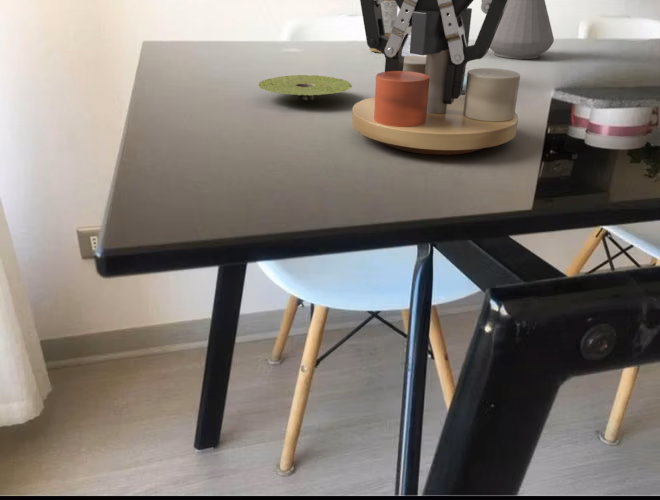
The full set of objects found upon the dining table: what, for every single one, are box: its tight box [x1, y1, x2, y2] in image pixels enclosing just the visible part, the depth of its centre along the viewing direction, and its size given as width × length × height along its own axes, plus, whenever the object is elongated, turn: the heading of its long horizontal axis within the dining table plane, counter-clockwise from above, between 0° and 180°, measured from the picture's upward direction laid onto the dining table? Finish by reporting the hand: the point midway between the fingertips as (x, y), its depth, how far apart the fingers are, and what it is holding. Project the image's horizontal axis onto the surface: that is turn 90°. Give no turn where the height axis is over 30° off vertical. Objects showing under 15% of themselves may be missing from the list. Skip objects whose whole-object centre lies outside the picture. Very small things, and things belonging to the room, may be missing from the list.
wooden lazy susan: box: [351, 7, 521, 150], centre depth 60 cm, size 16×16×11 cm
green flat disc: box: [258, 74, 353, 101], centre depth 76 cm, size 11×11×2 cm
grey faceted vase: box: [489, 0, 555, 60], centre depth 104 cm, size 21×12×15 cm, turn 65°
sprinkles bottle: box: [369, 0, 399, 54], centre depth 108 cm, size 5×5×14 cm
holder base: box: [381, 142, 483, 156], centre depth 63 cm, size 11×11×1 cm
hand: (421, 98), depth 61 cm, fingers open, 4 cm apart
